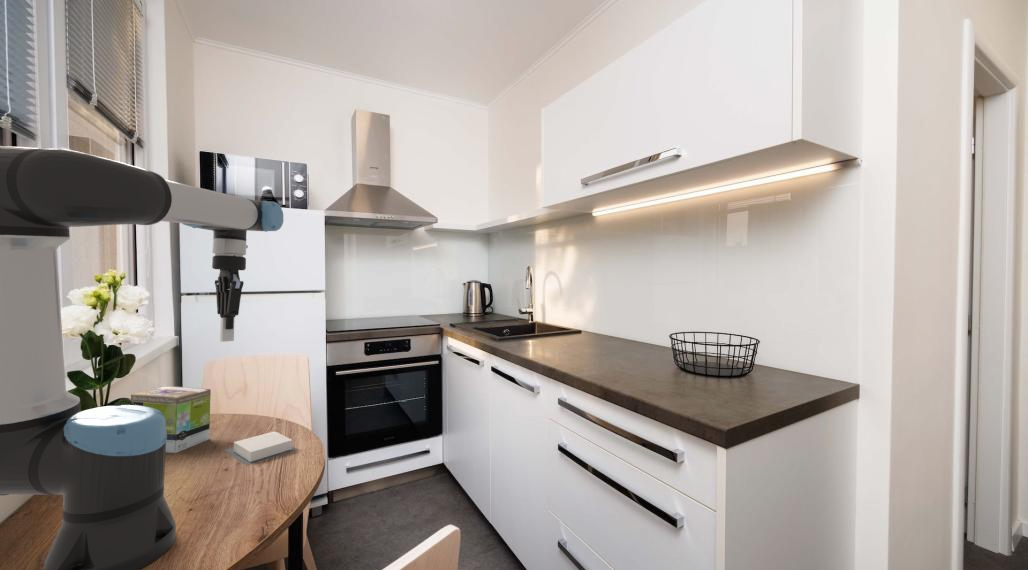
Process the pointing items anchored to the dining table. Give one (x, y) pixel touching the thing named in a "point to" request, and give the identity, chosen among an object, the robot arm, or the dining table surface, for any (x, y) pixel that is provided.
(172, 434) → the tea box
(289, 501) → the dining table surface
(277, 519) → the dining table surface
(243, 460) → the mat
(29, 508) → the dining table surface
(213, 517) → the dining table surface
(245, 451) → the tile
